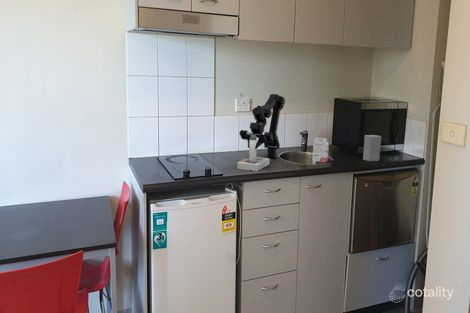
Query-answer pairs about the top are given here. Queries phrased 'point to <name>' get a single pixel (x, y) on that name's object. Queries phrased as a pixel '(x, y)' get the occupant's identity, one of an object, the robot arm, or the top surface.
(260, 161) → the socket block
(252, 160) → the white bottle
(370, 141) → the skincare box
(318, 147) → the ink cartridge box
